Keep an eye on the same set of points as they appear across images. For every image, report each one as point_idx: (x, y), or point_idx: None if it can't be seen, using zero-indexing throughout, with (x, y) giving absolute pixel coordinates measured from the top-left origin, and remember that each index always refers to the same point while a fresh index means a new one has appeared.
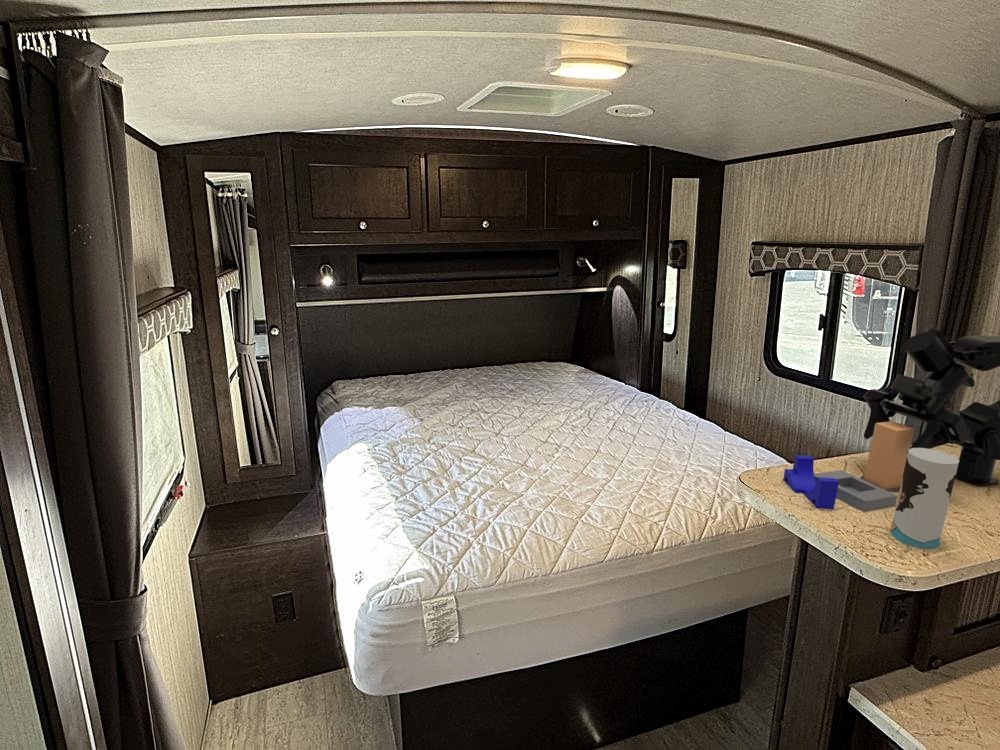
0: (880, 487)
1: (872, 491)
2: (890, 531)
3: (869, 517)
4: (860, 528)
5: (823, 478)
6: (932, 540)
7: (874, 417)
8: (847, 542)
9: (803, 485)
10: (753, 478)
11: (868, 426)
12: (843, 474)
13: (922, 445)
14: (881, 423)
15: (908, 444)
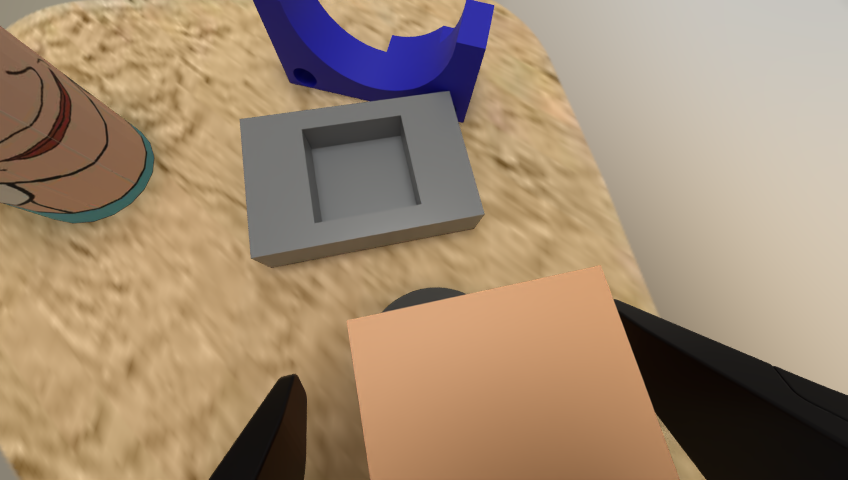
0: None
1: (299, 192)
2: (132, 125)
3: (238, 149)
4: (193, 86)
5: None
6: None
7: (816, 415)
8: (146, 17)
9: (405, 59)
10: (496, 17)
11: (688, 337)
12: (444, 193)
13: None
14: (596, 328)
15: None
